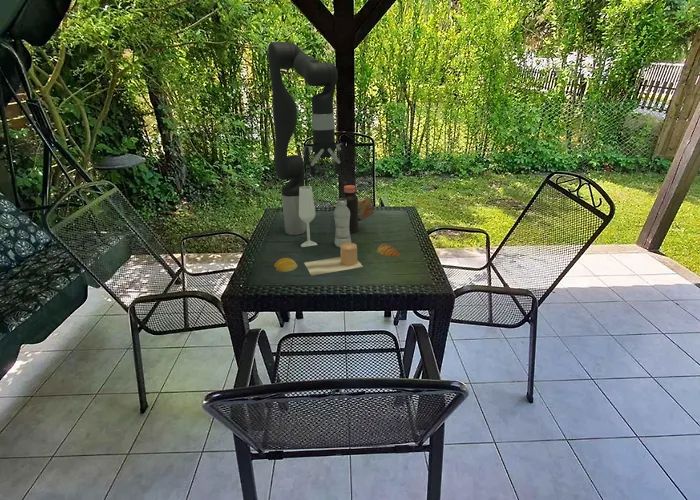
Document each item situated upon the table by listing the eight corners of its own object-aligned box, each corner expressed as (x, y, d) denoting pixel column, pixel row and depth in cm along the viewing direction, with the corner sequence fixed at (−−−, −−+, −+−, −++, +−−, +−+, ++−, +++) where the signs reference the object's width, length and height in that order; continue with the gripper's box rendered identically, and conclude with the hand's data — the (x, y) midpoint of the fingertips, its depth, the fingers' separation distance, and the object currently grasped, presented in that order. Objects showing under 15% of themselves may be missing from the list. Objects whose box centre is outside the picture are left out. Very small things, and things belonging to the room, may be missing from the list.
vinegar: (361, 231, 187) (360, 186, 179) (348, 234, 184) (347, 189, 176) (352, 226, 192) (351, 183, 184) (339, 230, 189) (338, 186, 181)
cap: (338, 260, 156) (338, 243, 154) (353, 257, 158) (353, 241, 156) (343, 266, 151) (343, 249, 149) (359, 264, 153) (359, 247, 150)
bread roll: (278, 277, 148) (277, 267, 147) (272, 267, 156) (271, 257, 154) (301, 273, 151) (300, 263, 149) (294, 263, 159) (294, 253, 157)
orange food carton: (357, 221, 199) (357, 204, 195) (352, 220, 200) (351, 203, 197) (374, 212, 210) (374, 196, 207) (368, 211, 212) (368, 195, 209)
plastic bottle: (349, 251, 167) (348, 202, 159) (332, 250, 168) (331, 201, 160) (352, 245, 173) (352, 197, 165) (336, 244, 174) (335, 197, 166)
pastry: (404, 258, 161) (404, 248, 160) (391, 263, 157) (391, 254, 156) (386, 250, 168) (387, 241, 166) (374, 255, 164) (374, 246, 162)
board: (304, 266, 156) (303, 262, 155) (353, 258, 161) (353, 254, 161) (311, 279, 146) (311, 275, 146) (363, 270, 152) (363, 266, 151)
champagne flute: (297, 246, 173) (293, 188, 163) (306, 240, 178) (303, 184, 169) (311, 249, 170) (308, 190, 160) (320, 243, 175) (317, 186, 166)
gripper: (340, 124, 148) (341, 170, 155) (300, 127, 144) (302, 174, 151) (347, 127, 142) (347, 175, 148) (305, 130, 137) (308, 179, 144)
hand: (325, 175), depth 149 cm, fingers open, 8 cm apart
